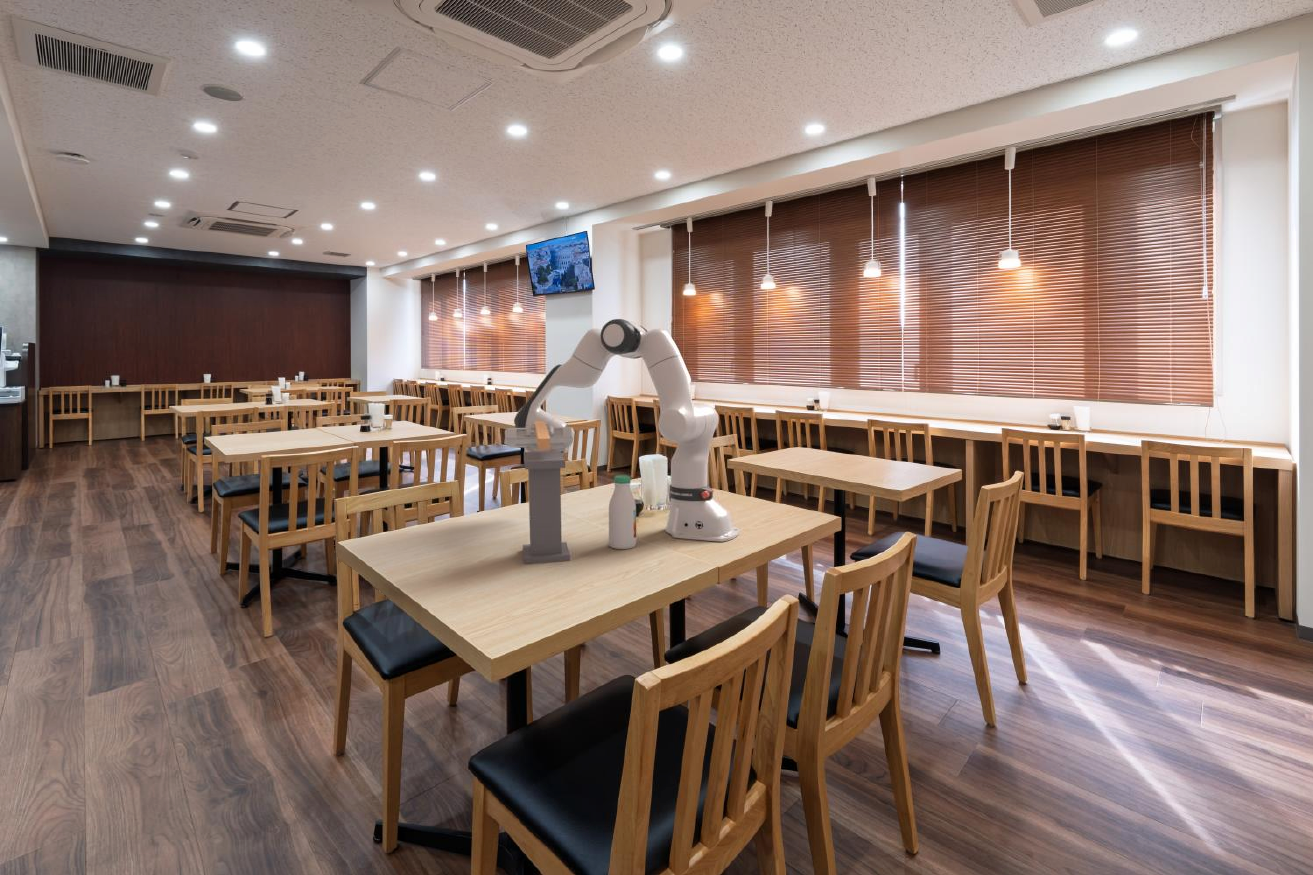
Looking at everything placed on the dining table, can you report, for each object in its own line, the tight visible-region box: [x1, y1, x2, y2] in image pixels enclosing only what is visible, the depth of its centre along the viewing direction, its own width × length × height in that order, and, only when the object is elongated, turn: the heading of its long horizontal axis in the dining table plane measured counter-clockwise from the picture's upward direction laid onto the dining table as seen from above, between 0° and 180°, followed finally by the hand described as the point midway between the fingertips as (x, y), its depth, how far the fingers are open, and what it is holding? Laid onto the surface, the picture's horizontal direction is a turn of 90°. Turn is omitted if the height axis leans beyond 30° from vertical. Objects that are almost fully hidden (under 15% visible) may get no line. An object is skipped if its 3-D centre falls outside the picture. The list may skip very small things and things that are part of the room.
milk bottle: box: [608, 474, 637, 550], centre depth 179 cm, size 8×8×20 cm
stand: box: [522, 451, 571, 564], centre depth 170 cm, size 16×12×27 cm
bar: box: [534, 421, 550, 450], centre depth 175 cm, size 26×3×3 cm, turn 13°
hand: (540, 426), depth 184 cm, fingers closed on bar, 3 cm apart
